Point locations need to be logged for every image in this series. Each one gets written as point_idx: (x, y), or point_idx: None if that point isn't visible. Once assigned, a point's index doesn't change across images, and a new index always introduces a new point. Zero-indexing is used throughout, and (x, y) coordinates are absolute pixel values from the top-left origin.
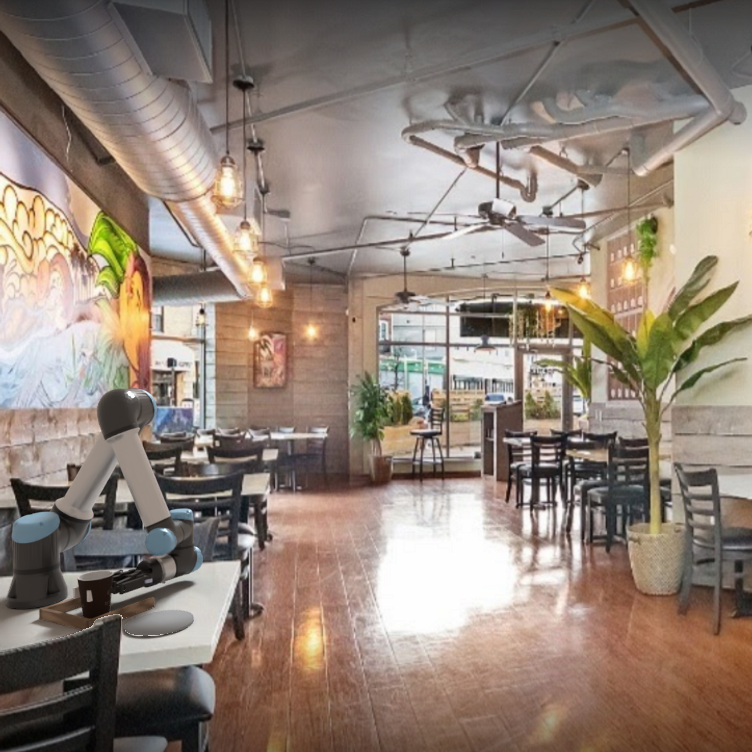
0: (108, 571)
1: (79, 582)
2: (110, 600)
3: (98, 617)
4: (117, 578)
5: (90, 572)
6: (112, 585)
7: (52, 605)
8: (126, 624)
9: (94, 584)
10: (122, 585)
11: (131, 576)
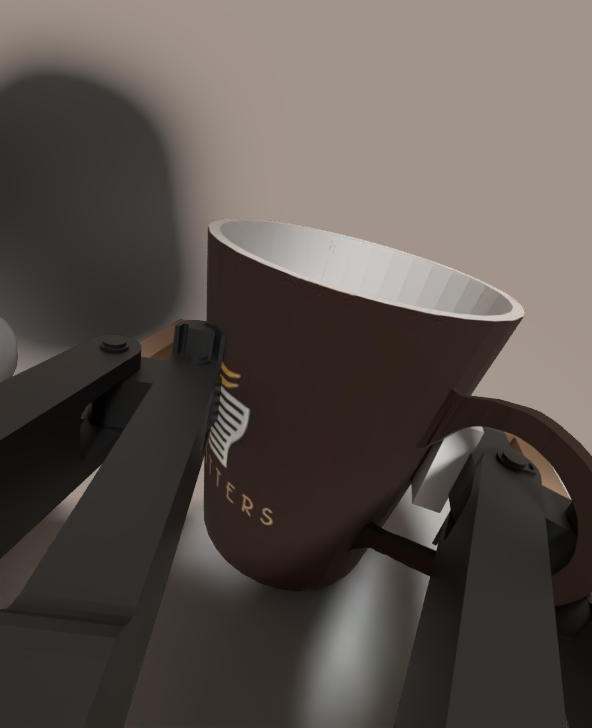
0: (359, 296)
1: (380, 266)
2: (207, 455)
3: (160, 336)
4: (430, 700)
5: (511, 309)
6: (212, 359)
7: (538, 464)
8: (7, 348)
9: (273, 256)
10: (95, 342)
11: (29, 608)
